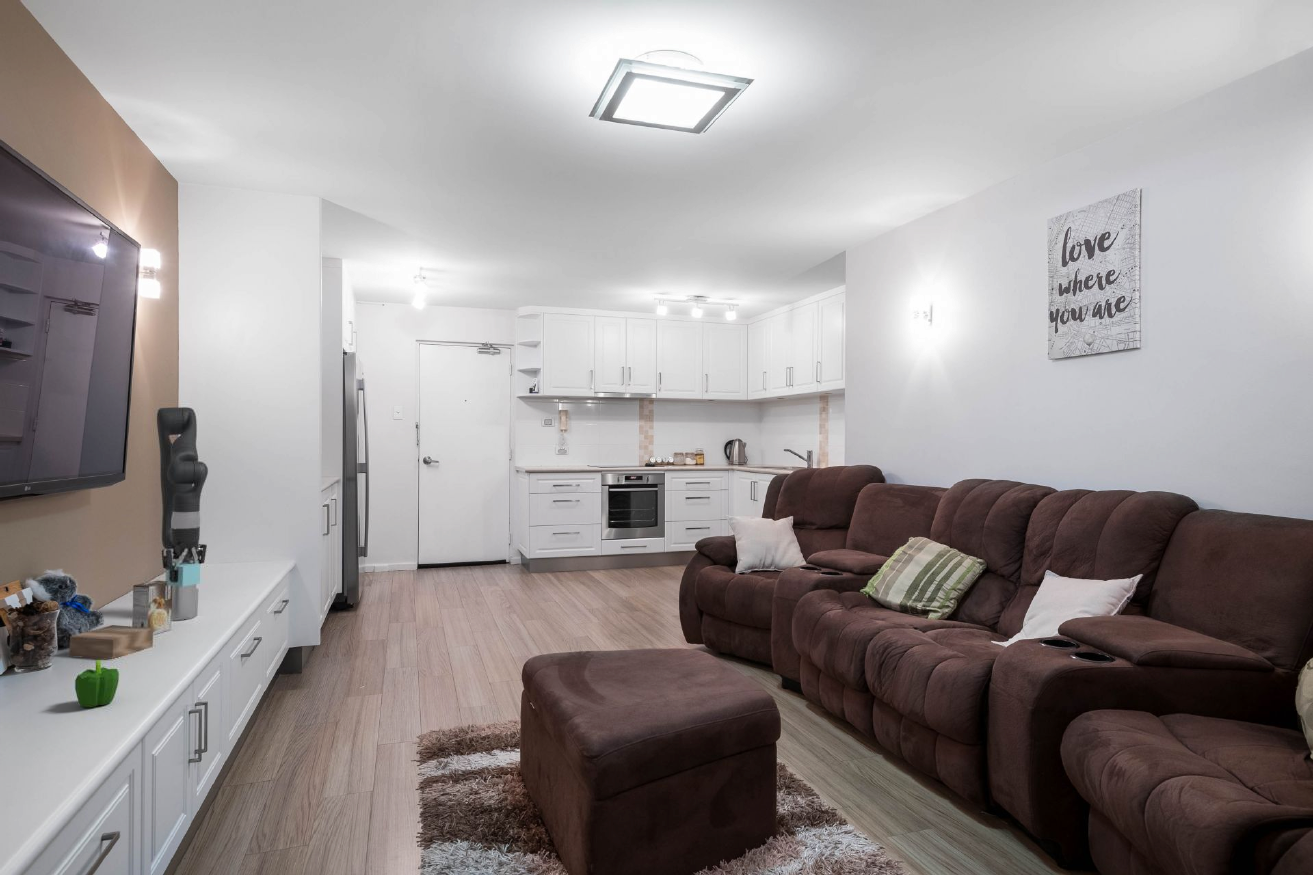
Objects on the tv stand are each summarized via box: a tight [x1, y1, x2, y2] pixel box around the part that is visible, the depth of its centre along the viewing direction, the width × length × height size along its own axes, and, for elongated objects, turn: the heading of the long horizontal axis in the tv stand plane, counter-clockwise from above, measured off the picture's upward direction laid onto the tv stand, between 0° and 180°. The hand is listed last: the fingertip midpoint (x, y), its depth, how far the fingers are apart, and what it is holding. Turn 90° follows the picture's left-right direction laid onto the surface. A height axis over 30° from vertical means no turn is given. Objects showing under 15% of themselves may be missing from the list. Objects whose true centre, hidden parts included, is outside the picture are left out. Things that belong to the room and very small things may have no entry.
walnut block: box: [69, 624, 154, 660], centre depth 219 cm, size 14×14×6 cm
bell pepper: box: [74, 659, 120, 708], centre depth 177 cm, size 8×8×10 cm
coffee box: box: [131, 580, 172, 636], centre depth 241 cm, size 9×6×16 cm
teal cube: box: [167, 562, 201, 587], centre depth 229 cm, size 6×6×6 cm
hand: (183, 580), depth 229 cm, fingers closed on teal cube, 6 cm apart
